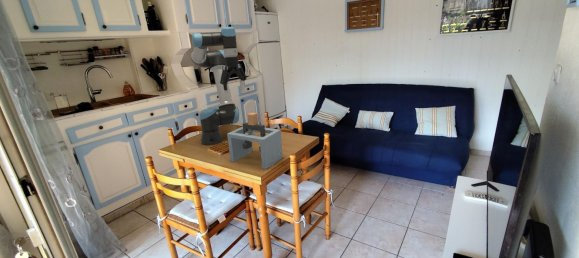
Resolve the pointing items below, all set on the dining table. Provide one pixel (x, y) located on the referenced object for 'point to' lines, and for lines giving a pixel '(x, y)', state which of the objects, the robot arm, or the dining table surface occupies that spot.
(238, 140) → the shelf
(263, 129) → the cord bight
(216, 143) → the robot arm
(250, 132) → the hook bar
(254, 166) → the dining table surface
